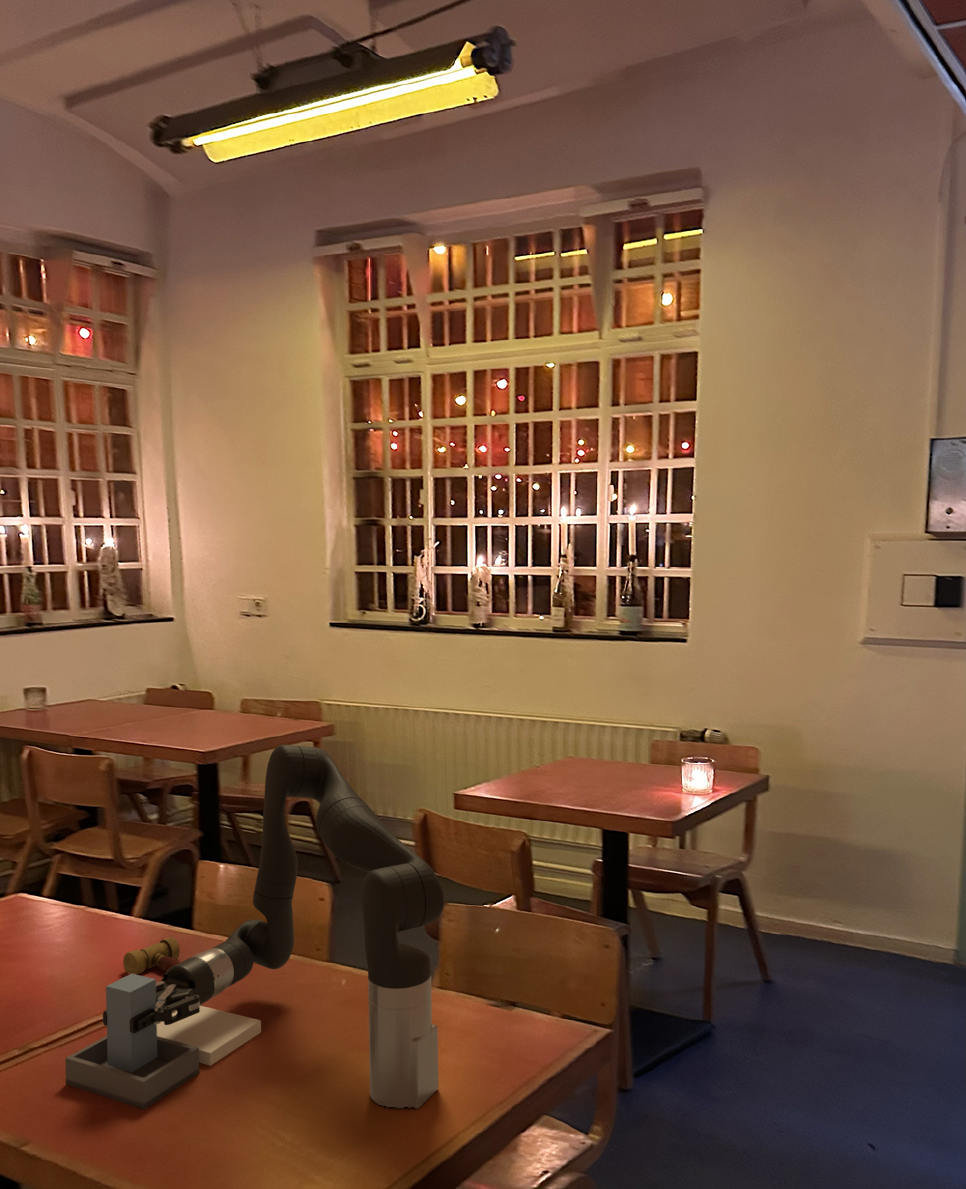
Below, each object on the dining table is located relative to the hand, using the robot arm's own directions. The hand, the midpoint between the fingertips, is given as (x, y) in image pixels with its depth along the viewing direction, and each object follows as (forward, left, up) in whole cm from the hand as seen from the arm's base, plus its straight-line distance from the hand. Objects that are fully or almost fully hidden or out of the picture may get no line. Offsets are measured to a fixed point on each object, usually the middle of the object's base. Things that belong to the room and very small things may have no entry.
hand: (118, 1022), depth 142 cm
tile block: (0, -3, -7) cm, 7 cm away
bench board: (0, -17, -10) cm, 19 cm away
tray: (0, -3, -10) cm, 10 cm away
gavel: (+21, -34, -10) cm, 42 cm away
